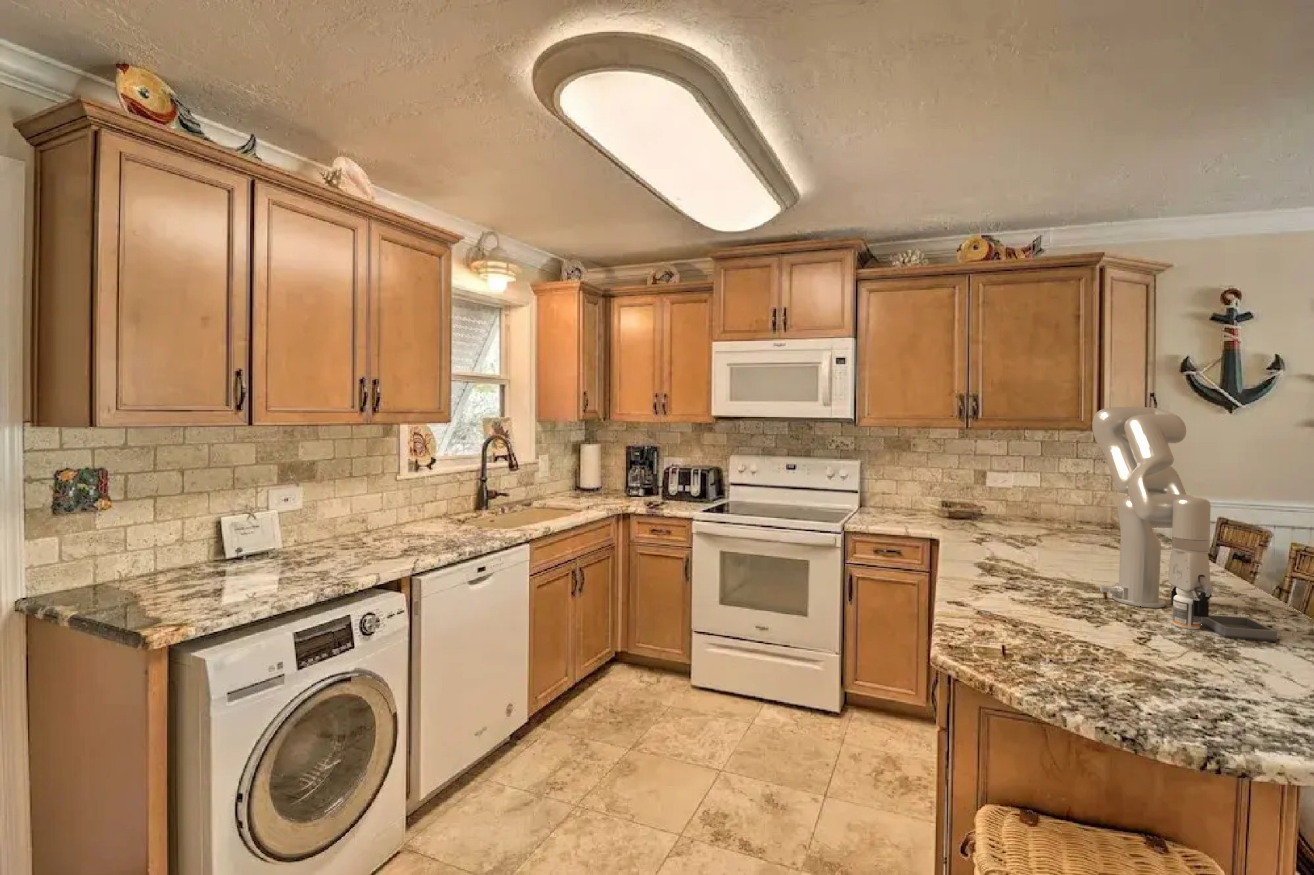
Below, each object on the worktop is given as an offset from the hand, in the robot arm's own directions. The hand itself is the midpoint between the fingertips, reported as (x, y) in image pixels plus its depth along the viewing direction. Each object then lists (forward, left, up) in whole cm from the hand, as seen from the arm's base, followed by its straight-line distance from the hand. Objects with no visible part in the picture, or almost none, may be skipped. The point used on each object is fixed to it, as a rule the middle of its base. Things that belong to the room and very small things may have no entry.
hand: (1189, 611), depth 166 cm
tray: (+10, -1, -4) cm, 11 cm away
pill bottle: (0, +1, -5) cm, 5 cm away
